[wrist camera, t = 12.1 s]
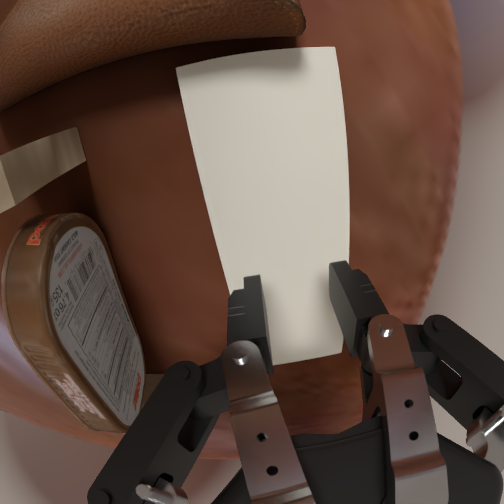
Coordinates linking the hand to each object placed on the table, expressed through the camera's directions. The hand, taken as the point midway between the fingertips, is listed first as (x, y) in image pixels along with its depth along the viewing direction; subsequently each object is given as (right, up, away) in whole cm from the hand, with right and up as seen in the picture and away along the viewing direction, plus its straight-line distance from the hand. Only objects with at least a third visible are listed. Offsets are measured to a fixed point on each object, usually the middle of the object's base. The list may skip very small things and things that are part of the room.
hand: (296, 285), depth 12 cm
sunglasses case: (-9, +16, -5) cm, 19 cm away
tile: (0, +2, +3) cm, 4 cm away
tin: (-11, -1, +5) cm, 12 cm away
